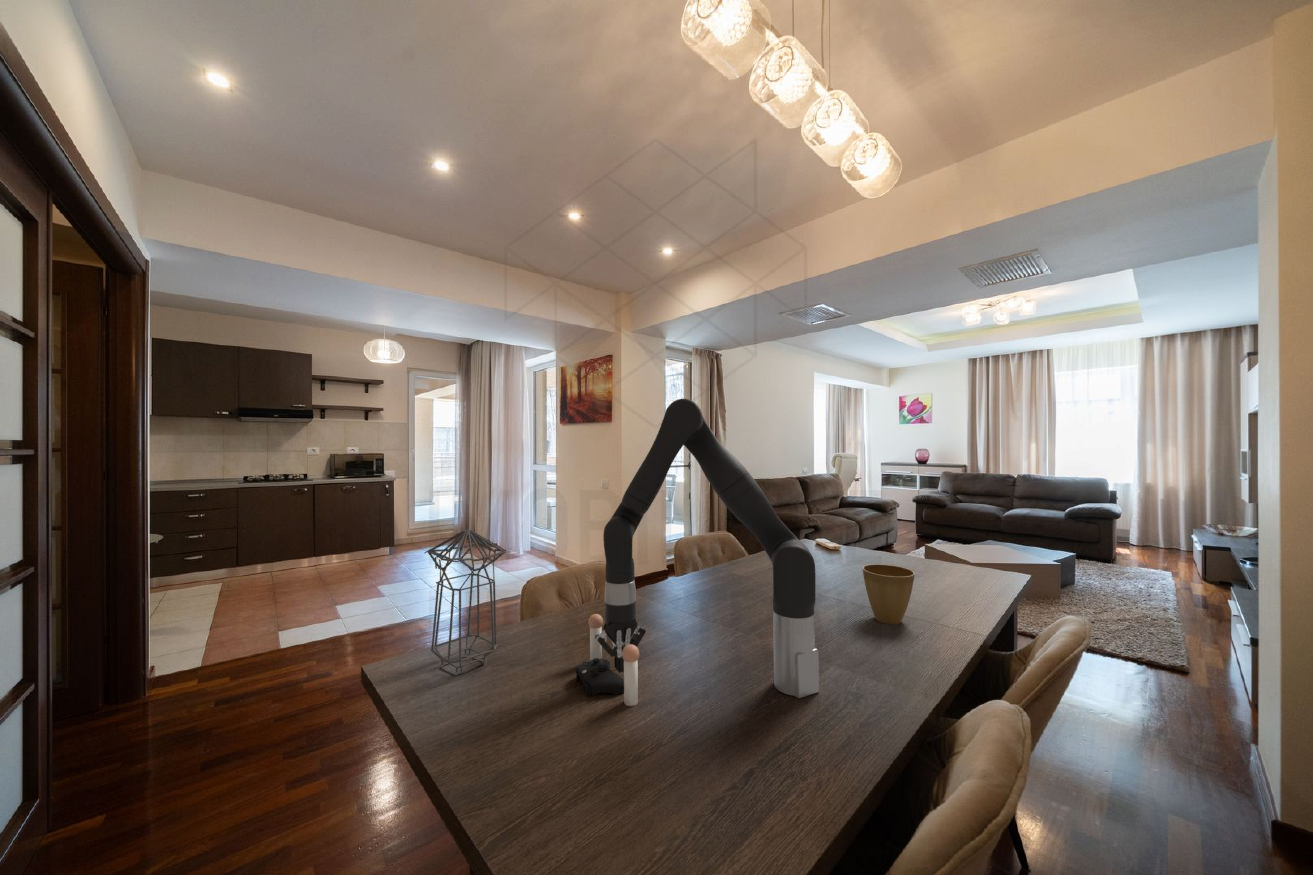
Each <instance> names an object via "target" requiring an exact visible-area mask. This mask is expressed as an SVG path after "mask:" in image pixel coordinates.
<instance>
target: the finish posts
mask: <svg viewBox="0 0 1313 875" xmlns="http://www.w3.org/2000/svg"><path fill="white" fill-rule="evenodd" d="M603 625H604V618H603V617H602V616H601V615H600V614H599V613H594V614H592V615H590V617H589V618H588V626H589V656H590V657H589V660H593V659H595V658H602V659H603V654H602V653H603V649H602V648H603V647H602V646H601V645H600V644H599V642H598V641H597V640H596V639H595V636H596V635H600V634H601V633H602V632H603V630H602V629H603V628H602V626H603ZM622 657H623V660H624V672H623V679H624V693H623V695H624V696H623V700H624V703H623V704H624V705H625V706H627V707H635V706H637V705H638V703H639V685H638V684H639V680H638V679H639V676H638V671H639V670H638V669H639V668H638V667H639V666H638V663H639V662H638V660H639V658H640V650H639V648H638V646H637V647H636V646H635V645H632V644H630V645H627V646H625V647H624V649H623V651H622Z"/></svg>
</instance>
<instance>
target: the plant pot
mask: <svg viewBox="0 0 1313 875" xmlns="http://www.w3.org/2000/svg"><path fill="white" fill-rule="evenodd" d="M862 573H863V574H862V575H863V580H864V585H865V591H866V594H867V598H868V601H869V604H870V608H871V610H872V614H873V615H874V616H873V617H874V618H875V620H876V621H878V622H880V623H883V624H886V625H900V624H901V623H902V621H903V619H904V617H905V614H906V612H907V609H908V606H909V602H910V598H911V596H912V595H911V594H912V591H913V585H914V580H915V575H916V574H915V572H914V571H913V569H911V568H910V569H909V568H906V567H903V566H899V565H892V564H891V565H890V564H880V563H879V564H878V563H876V564H875V563H874V564H872V563H871V564H866V565H863V567H862Z"/></svg>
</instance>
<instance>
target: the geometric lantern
mask: <svg viewBox="0 0 1313 875" xmlns="http://www.w3.org/2000/svg"><path fill="white" fill-rule="evenodd" d="M467 540H468V544H466V541H467ZM451 541H452V542H451ZM447 543H449V544H448V545H447V546H446V547H444V548H442V549H438V548H440V547H441V546H444V545H446V544H447ZM465 544H466V545H465ZM474 546H475V547H476V548H477V550H478V552H479V554H480V555H481V558H474V553H473V548H474ZM465 548H468V549H467V550H466V551H465V552H464V553H463V551H464V549H465ZM494 548H495V549H494ZM486 549H487V550H488V551H489V552H488V553H487V551H486ZM453 550H455V552H454V554H453V556H452V557H451V552H452V551H453ZM469 552H470V554H469V555H470V557H467V558H466V557H465V556H466V555H467V554H468V553H469ZM491 552H492V553H493V554H491ZM507 552H508V550H507V549H506V548H504V547H502V546H500V545H498V544H497V543H495V542H493V541H491V540H490V539H488V538H486V537H484V536H482V535H481V534H478V533H477V532H475V531H473V530H472V529H465V530H462V531H460V532H458V533H456V534H455V535H453V536H451V537H448V539H445V540H443V541H442V542H440V543H439V544H437V545H435V546H433V547H432V548H430V549H428V550H425V551H424V554H428V555H429V557H430V558H431V560H432V561H433V562H434V565H435V566H434V567H435V568H434V569H435V570H437V569H438V570H439V580H437V581H436V582H435V584H436V593H435V604H434V617H433V625H432V629H433V630H432V638H431V648H430V651H431V653H433V654H434V655H435V656H436V657H437V658H438V659H440V662H441V664H440V667H441V666H442V665H443V663H444V662H445V663H444V664H446V663H448V664H447V665H450V666H452V667H454V668H455V673H456V672H458V670H459V669H460V673H461V672H463V667H466V666H468V665H470V664H474V663H475V662H479V661H478V660H482V661H483V662H482V664H483V663H484V662H485V663H486V658H487V657H488V656H489V655H490V654H492V653H493V652H495V651H496V649H497V645H498V644H497V643H498V642H497V640H498V639H497V638H498V637H497V606H496V605H497V604H496V579H495V577H496V576H495V562H496V561H497V560H498V559H501V557H502V556H503V555H505V554H506V553H507ZM443 553H444V554H443ZM462 554H463V555H462ZM447 555H448V556H447ZM457 555H458V557H456V556H457ZM434 556H435V557H434ZM464 557H465V558H464ZM437 558H439V559H438V561H437ZM441 561H445V562H446V563H445V565H444V566H442V562H441ZM466 561H467V562H468V561H471V564H472V565H470V564H468V563H467V562H466ZM479 561H480V562H481V561H482V565H481V566H480V567H478V568H475V563H474V562H479ZM488 561H489V562H488ZM459 562H460V563H461V564H463V565H464V566H466V567H467V568H468V569H469V570H470V571H471V572H469V573H467V574H462V575H457V576H453V577H448V575H447V573H446V571H447V569H448V567H449V566H450V565H451V564H452V563H459ZM487 562H488V563H487ZM491 564H492V575H493V576H492V578H490V576H489V573H488V571H487V567H488V566H490V565H491ZM482 570H483V571H484V574H485V575H481V574H480V573H481V571H482ZM475 572H477V573H475ZM466 576H467V577H466ZM463 577H466V579H465V580H464V582H463V583H462V585H461V586H460V587H459V588H456V587H455V588H454V587H453V585H452V583H451V581H450V580H453V579H458V578H463ZM474 577H476V578H477V579H476V585H473V584H474V583H473V582H474ZM480 577H481V578H483V579H487V581H488V582H486V583H482V584H480ZM469 579H470V586H469V587H464V588H463V586H464V585H465V584H466V582H467V581H468V580H469ZM444 581H446V582H447V583H448V584H447V585H449V586H446V585H444ZM488 585H489V597H490V598H489V599H490V600H489V601H490V602H489V603H490V623H491V640H492V641H491V640H490V639H488V638H485V637H484V636H482V635H480V587H482V586H488ZM444 588H445V589H447V590H450V591H452V592H451V602H450V603H451V605H450V616H449V618H450V619H449V620H450V621H449V633H448V634H449V635H448V640H447V641H445V642H442V643H438V638H439V627H440V619H441V618H440V617H441V609H442V599H443V591H444ZM474 588H476V591H477V592H476V597H477V598H476V603H477V604H476V613H477V615H476V616H477V623H476V624H477V628H476V629H477V633H476V634H470V630H471V629H470V627H471V616H472V612H471V611H472V598H473V589H474ZM439 590H440V591H439ZM465 590H466V591H467V590H469V602H468V604H469V606H468V617H467V618H468V619H467V634H466V635H462V591H465ZM439 592H440V593H439ZM455 592H458V637H457V638H453V639H452V634H453V620H454V619H453V618H454V605H455V604H454V603H455ZM472 636H475V637H474V638H475V639H474V640H473V641H472V644H471V645H470V646H469V647H468V643H469V642H468V639H469V637H470V638H472ZM465 638H466V639H465ZM478 638H479V639H481V640H483V641H484V642H486V643H488V644H491V645H492V647H490V648H489V650H486V651H483V652H480V651H477V650H475V649H473V648H472V647H473V646H474V644H475V642H476V641H477V639H478ZM462 639H465V648H463V649H462ZM457 641H458V651H456V652H453V653H451V651H452V649H451V648H452V643H453V642H457ZM446 644H448V646H447V648H448V650H447V655H442V654H441V652H440V651H439V649H438V648H437V647H441V646H444V645H446ZM467 651H468V656H469V655H470V657H465V658H462V657H463V656H462V652H464V656H465V655H466V656H467ZM471 652H473V653H476V654H474V655H471ZM456 654H458V658H459V660H456V659H453V660H451V657H452V656H453V655H456ZM480 656H482V657H480ZM474 657H475V658H477V657H479V658H478V659H477V660H476V659H474ZM471 659H474V660H472V661H469V662H466V663H464V664H462V662H465V661H468V660H471ZM455 663H459V666H457V665H456V664H455ZM458 673H459V672H458Z"/></svg>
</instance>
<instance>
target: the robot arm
mask: <svg viewBox="0 0 1313 875" xmlns="http://www.w3.org/2000/svg"><path fill="white" fill-rule="evenodd" d="M683 446H684V447H685V449H686V450H688V452H689V453H690V454H691V455H692V456H693V457H694V459H695V460H696V461H697V463H698V465H699V467H700V468H701V471H702V472H703V474H704V476H705V478H706V479H707V481H708V482H709V484H710V486H711V487H712V489H713V491H714V492H715V494H716V495H718V497H719V498H720V500H721V501H722V503H723V504H724V505H725V506H726V508H727V509H728V510H729V511H730V513H732V514H733V516H734V517H735V518H736V519H737V520H738V521H740V522H741V523H742V525H744V526H745V527H746V529H748V530H749V531H750V532H751V533H752V534H753V535H754V536H755V538H756V539H757V540H758V542H759V543H760V545H761V546H762V548H763V549H764V551H765V553H766V554H767V556H768V558H769V560H770V562H771V564H772V582H773V584H772V585H773V586H772V588H773V589H772V590H773V591H772V592H773V594H772V627H773V630H772V633H773V637H772V638H773V644H772V645H773V685H774V688H775V689H777V691H779V692H781V693H783V694H786V695H788V696H793V697H796V698H797V699H801V698H805V697H809V696H810V695H814V694H816V693H819V692H820V680H819V679H820V674H819V672H820V671H819V670H820V669H819V649H818V648H816V643H815V642H816V640H815V604H816V563H815V559H814V557H813V555H812V553H811V552H810V550H809V549H808V547H807V546H806V545H805V544H804V543H803V542H802V541H801V540H800V539H799V538H798V537H797V536H796V535H795V534H794V533H793V532H792V531H791V530H790V529H789V528H788V526H787V525H786V524H785V523H784V522H783V521H782V520H781V518H780V517H779V516H778V514H777V513H776V510H775V509H774V507H773V506H772V503H771V502H770V501H769V498H767V496H766V494H765V492H764V491H763V490H762V488H761V486H760V485H759V484H758V482H756V480H755V478H753V476H752V475H751V473H750V472H749V471H748V470H747V468H746V467H745V466H744V465H743V464H742V463H741V462H740V460H739V459H737V458H736V456H735V455H734V454H733V453H731V452H730V451H729V450H728V449H727V448H726V447H725V446H724V445H723V444H722V443H721V441H719V440H718V437H717V436H716V435H715V434H714V432H713V430H712V429H711V427H710V426H709V424H708V423H707V421H706V419H705V418H704V415H703V412H702V410H701V408H700V406H699V405H698V404H697V403H696V402H695V401H694V400H692V399H689V398H679V399H676V400H674V401H672V402H671V403H670V404H669V405H668V406H667V408H666V409H665V412H664V417H663V419H662V421H661V424H660V427H659V429H658V432H657V434H656V437H655V439H654V440H653V443H652V444H651V447H650V449H649V451H648V453H647V454H646V456H645V458H644V460H643V461H642V463H641V464H640V467H639V468H638V469H637V471H636V472H635V475H634V476H633V478H632V480H631V482H630V483H629V485H628V487H627V488H626V490H625V492H624V495H623V497H622V500H621V502H620V504H619V505H618V507H617V508H616V510H615V511H614V513H613V515H612V516H611V518H610V519H609V520H608V522H606V524H605V526H604V529H603V536H602V537H603V548H604V557H605V584H604V621H605V623H604V624H603V628H602V629H603V630H602V633H601V634H600V635H596V636H595V639H596V640H597V641H598V642H599V644H600V645H601V646H602V648H603V649H604V651H606V653H607V654H608V655H609V656H610V657H614V668H615V670H617V672H618V673H620V674H621V673H624V660H623V657H622V651H623V649H624V647H625V646H627V645H630V644H632V645H635V646H636V647H637V648H638V646H639V644H640V643H641V641H642V639H643V638H644V636H645V634H646V629H645V628H644V627H642V626H640V625H639V624H638V621H637V618H636V617H637V600H636V599H637V598H636V597H637V591H636V582H635V580H636V579H635V561H634V558H633V537H634V535H635V534H636V533H635V532H637V529H638V527H639V525H640V523H641V521H642V519H643V517H644V516H645V514H646V513H647V512H648V510H650V508H651V506H652V504H653V503H654V500H655V499H656V497H657V495H658V494H659V493H660V490H661V488H662V486H663V484H664V482H665V479H666V478H667V475H668V473H669V470H670V468H671V466H672V464H673V462H674V461H675V459H676V457H677V455H678V453H679V452H680V450H681V449H682V447H683ZM608 639H609V640H611V643H612V648H611V646H610V645H609V644H608V643H607V640H608Z"/></svg>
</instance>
